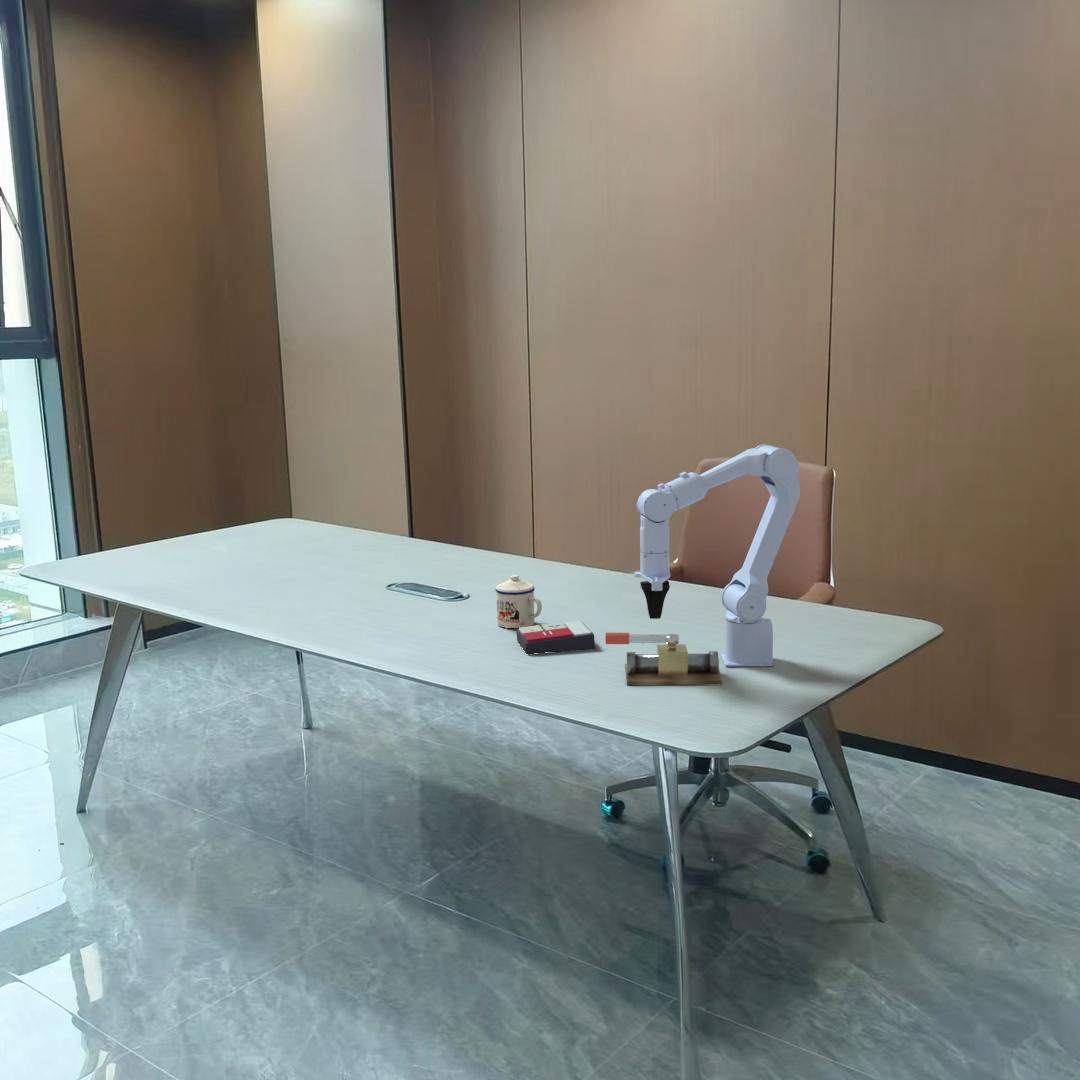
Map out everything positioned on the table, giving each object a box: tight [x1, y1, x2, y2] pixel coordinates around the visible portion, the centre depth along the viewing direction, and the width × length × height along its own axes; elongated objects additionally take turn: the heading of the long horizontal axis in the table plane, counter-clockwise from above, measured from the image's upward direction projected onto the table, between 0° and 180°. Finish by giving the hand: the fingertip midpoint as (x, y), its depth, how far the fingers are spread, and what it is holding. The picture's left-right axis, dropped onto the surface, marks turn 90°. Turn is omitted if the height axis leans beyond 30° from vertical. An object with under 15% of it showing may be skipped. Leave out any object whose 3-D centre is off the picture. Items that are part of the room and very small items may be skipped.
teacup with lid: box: [495, 574, 543, 629], centre depth 247 cm, size 12×9×12 cm
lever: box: [604, 632, 680, 645], centre depth 208 cm, size 3×14×2 cm, turn 84°
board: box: [624, 663, 723, 686], centre depth 209 cm, size 18×11×1 cm, turn 88°
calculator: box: [515, 620, 596, 655], centre depth 232 cm, size 11×4×15 cm
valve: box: [626, 643, 720, 676], centre depth 209 cm, size 18×5×6 cm, turn 87°
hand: (654, 617), depth 212 cm, fingers closed
